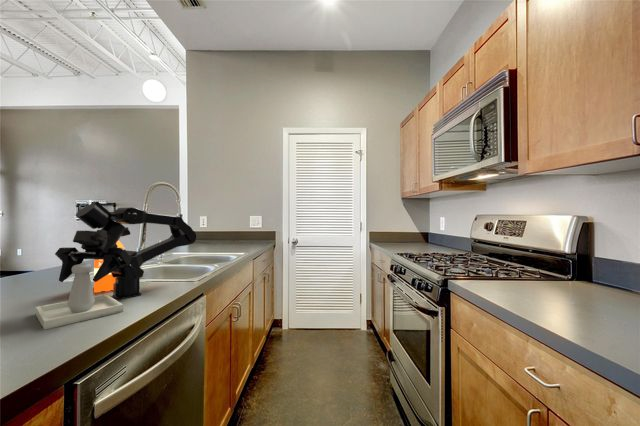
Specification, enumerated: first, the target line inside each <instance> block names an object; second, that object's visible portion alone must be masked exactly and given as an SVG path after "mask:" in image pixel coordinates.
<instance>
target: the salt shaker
mask: <svg viewBox="0 0 640 426" xmlns="http://www.w3.org/2000/svg"><path fill="white" fill-rule="evenodd" d="M92 270H93V267H92V264H90V263H81V264H78V265H74V266H73V267H72V274H73V275H74V278H73V280H72V285H71V288H70V289H71V290H70V293H69V296H68V300H67V301H68V303H67V305H68V307H69V308H70V310H71V312H72V313H81V312H85V311H88V310H90V309H91V308H92V306H93V304H94V301H95V299H94V296H95V295H94V294H95V293H94V288H93V285H92V284H93V283H92V280H91V276H90V272H92Z"/></svg>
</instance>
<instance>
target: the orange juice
mask: <svg viewBox="0 0 640 426" xmlns="http://www.w3.org/2000/svg"><path fill="white" fill-rule="evenodd" d="M119 240H120V239H119ZM119 240H118V242H117V243H116V244H117V246H118V247H117V248H124V249H125V250H126V247H125V246H124V245H123V243H122V242H121V241H119ZM93 260H94V261H93V262H94V263H93V264H94V265H93V277H94V276H95V274H96V273H97V271H98V270H99V268H100V266H101V265H102V263H103V260H95V259H93ZM114 283H115V278H114V277H113V276H112V274H111V273H109V274H108V275H106V276H105V277H103V278H102V279H100V280H98V281H97V282H94V281H93V293H102V292H101V291H105V292H111V291H110V290H113V284H114Z"/></svg>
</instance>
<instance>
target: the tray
mask: <svg viewBox="0 0 640 426" xmlns="http://www.w3.org/2000/svg"><path fill="white" fill-rule="evenodd" d="M94 299H95V301H94V304H93V306H92V308H91V309H90V310H88V311H85V312H81V313H72V312H71V310H70V308H69V307H68V305H67V303H68V300H66V301H61V302H57V303H51V304H46V305H45V304H44V305H39V306H35V316H36V318H37V319H38V322H39V323H40V325H41V326H42V328H43V330H48V329H49V330H50V329H53V328H58V327H61V326H66V325H69V324H74V323H78V322H83V321H87V320H92V319H98V318H100V317H101V318H102V317H105V316H110V315H114V314H118V313H122V312H124V304H123V303H121V302H120V301H118V300H116V299H115V297H112V296H110V295H109V294H107V293H106V294H100V295H94Z"/></svg>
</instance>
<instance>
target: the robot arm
mask: <svg viewBox="0 0 640 426" xmlns="http://www.w3.org/2000/svg"><path fill="white" fill-rule="evenodd" d="M75 217H76V218H77V219H79V221H81V222H82V223H84V224H85V225H87V226H88V227H90V228H91V229H93V230H76V232H75V234H74V236H73V239H72V243H76V244H79V245H81V246H80V248H81V249H82V250H85V251H79V250H78V249H77V248H76V247H69V246H68V247H65V246H63V247H60V248H58V249H57V250H56V252H55V253H54V255H55V256H56V257H57V258H58V259H59V260H60V261H61V262H62V263H61V269H60V273H59V277H58V281H59V282H60V283H62V282H64V281H66V280H67V279H68V278H69V277H71V275H72V274H73V273H72V267H73V266H74V265H78V264H83V262H84V260H94V259H95V260H103V263H102V265H101V266H100V268H99V270H98V271H97V273H96V274H95V276H94V275H93V279H92V281H93V283H94V282H97V281H98V280H100V279H102V278H103V277H105V276H106V275H108V274H109V273H111V274H112V276H113V277H114V278H115V283H114V284H113V291H112V295H113V297H114V298H117V299H118V300H121V299H127V298H132V297H137V296H141V295H142V292H140V280H141V279H140V278H143V276H144V273H145V270H144V269H142V268H141V267H142V265H143V264H144V263H146V262H148V261H150V260H152V259H154V258H157V257H159V256H161V255H163V254H165V253H167V252H169V251H171V250H174V249H177V248H179V247H186V246H190V245H193V244H194V243H196V240H197V233H196V232H195V231H194V230H193V228H192V227H191V226H190V225H189V224H187V223H186V222H185V221H184V219H183V218H182V217H181V216H179V215H177V216H176V215H175V216H173V215H167V214H159V213H153V212H151V213H150V212H147V211H145V210H142V209H140V208H137V207H131V206H130V207H129V206H128V207H118V208H117V209H115V211H109V210H107V209H106V208H105V207H104V206H103V205H102V203H100V202H99V201H93V202H91V203H90V204H88V205H87V204H86V205H85V206H84V207H83V208H80V209H79V210H78V211H77V212H76V214H75ZM140 224H153V225H163V226H168V227H169V230H170V233H171V235H170V236H169V237H168V238H167V239H164V240H162V241H160V242H157V243H155V244H152V245H149V246H147V247H145V248H143V249H140V250H138V251H135V250H126V248H125V249H124V248H117V247H118V246H117V244H116V243H117V242H118V240H120V239H121V237H126V236H129V235H131V231H130V229H129V227H126V226H124V225H140ZM95 229H97V230H95Z"/></svg>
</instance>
